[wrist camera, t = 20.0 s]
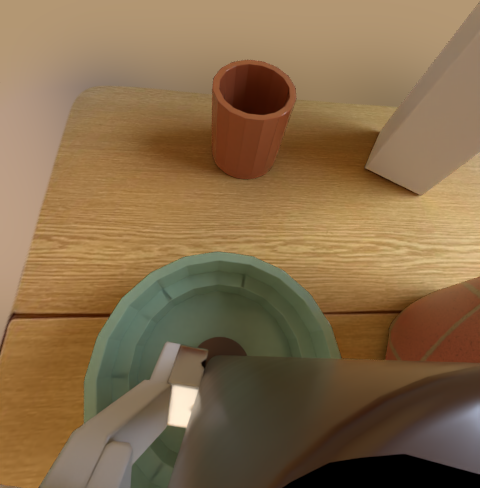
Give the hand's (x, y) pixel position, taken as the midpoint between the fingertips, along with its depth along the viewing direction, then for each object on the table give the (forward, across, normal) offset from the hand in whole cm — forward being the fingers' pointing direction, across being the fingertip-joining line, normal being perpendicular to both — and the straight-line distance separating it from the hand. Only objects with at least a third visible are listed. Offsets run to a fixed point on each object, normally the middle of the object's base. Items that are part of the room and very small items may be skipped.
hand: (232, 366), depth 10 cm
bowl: (+9, 0, +10) cm, 13 cm away
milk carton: (+27, -17, -8) cm, 33 cm away
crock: (+25, +1, -6) cm, 25 cm away
